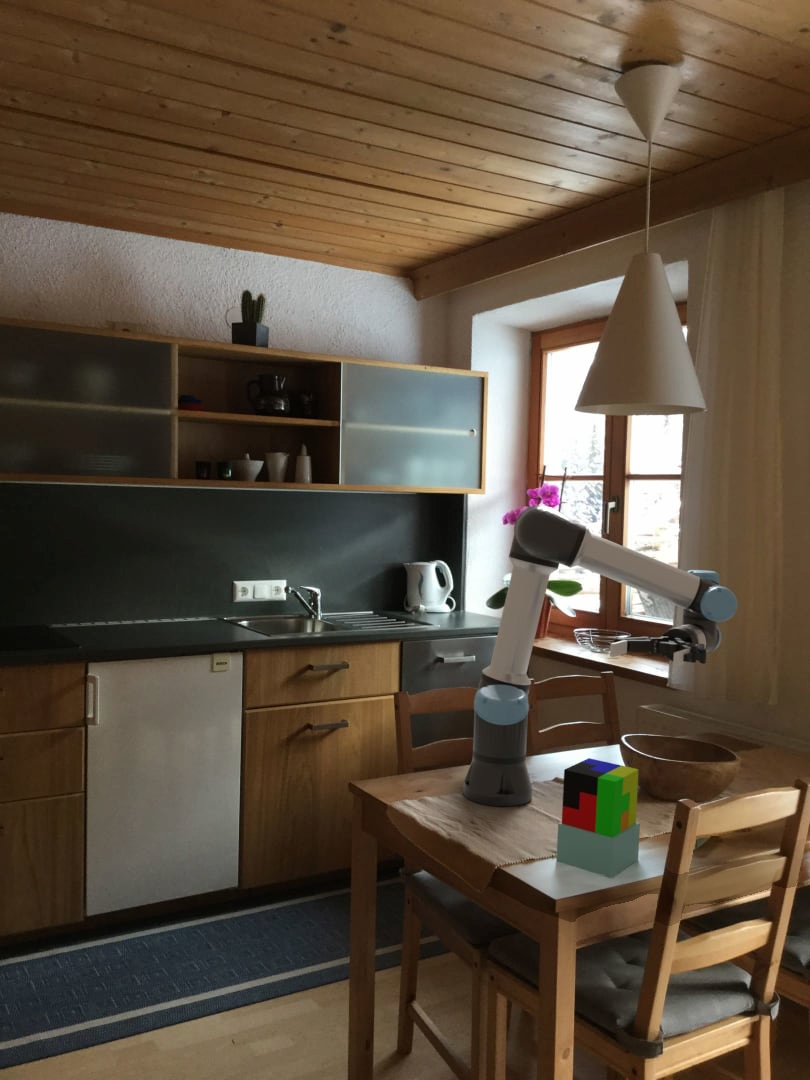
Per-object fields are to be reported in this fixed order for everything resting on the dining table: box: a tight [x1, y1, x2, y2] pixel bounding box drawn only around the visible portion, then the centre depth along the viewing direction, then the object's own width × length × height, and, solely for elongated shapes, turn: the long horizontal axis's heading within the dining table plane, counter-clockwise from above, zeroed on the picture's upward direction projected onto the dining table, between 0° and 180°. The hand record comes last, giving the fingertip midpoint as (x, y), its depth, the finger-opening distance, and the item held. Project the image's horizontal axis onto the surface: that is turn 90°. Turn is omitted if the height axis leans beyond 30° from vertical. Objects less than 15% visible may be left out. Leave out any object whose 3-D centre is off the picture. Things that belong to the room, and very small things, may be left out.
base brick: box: [556, 821, 641, 879], centre depth 172 cm, size 11×11×7 cm
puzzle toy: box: [561, 758, 640, 838], centre depth 171 cm, size 10×10×10 cm
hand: (642, 654), depth 190 cm, fingers open, 13 cm apart
